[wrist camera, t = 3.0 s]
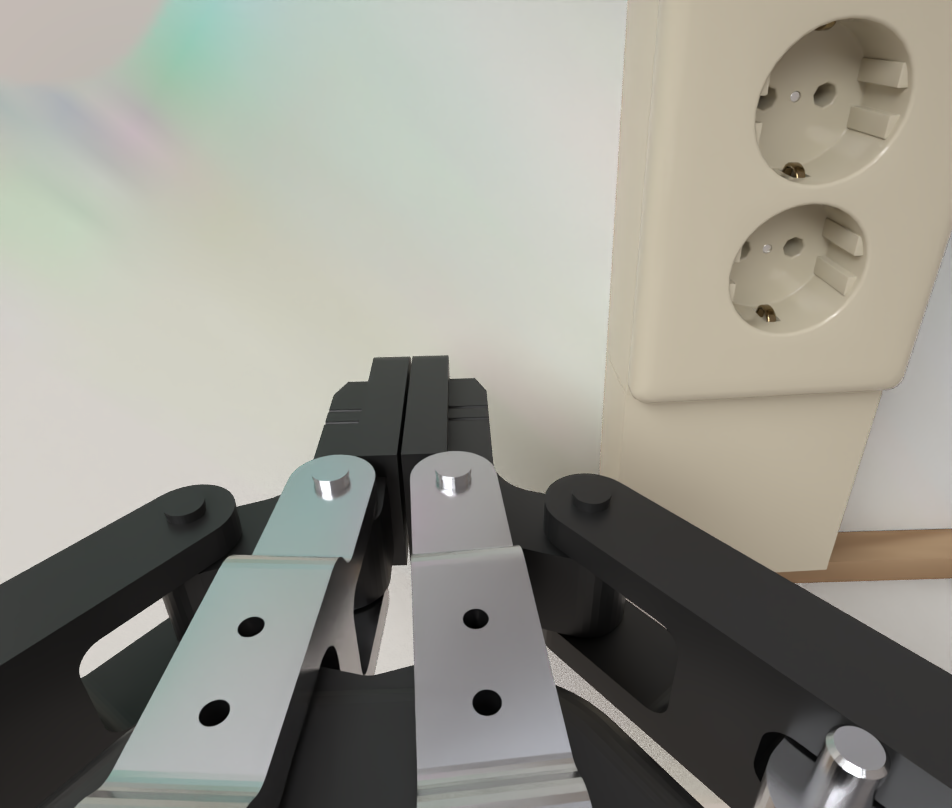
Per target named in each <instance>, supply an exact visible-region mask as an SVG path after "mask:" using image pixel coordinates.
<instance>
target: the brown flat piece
mask: <svg viewBox="0 0 952 808" xmlns="http://www.w3.org/2000/svg"><path fill="white" fill-rule="evenodd" d="M776 573H777V574H779V575H781V576H782V577H784V578H786V579H788V580H789V581H791V582H793V583H813V582H846V581H878V580H911V579H944V578H952V529H933V530H898V531H864V532H838V534H837V537H836V541H835V544H834V547H833V550H832V553H831V556H830V560H829V563H828V566H827V569H826V570H809V571H791V572H776Z"/></svg>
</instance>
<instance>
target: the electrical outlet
mask: <svg viewBox="0 0 952 808" xmlns="http://www.w3.org/2000/svg"><path fill="white" fill-rule="evenodd" d="M951 233H952V0H628V2H627V19H626V35H625V52H624V68H623V85H622V101H621V118H620V135H619V151H618V168H617V184H616V201H615V217H614V234H613V250H612V267H611V284H610V300H609V317H608V333H607V350H606V351H607V352H606V366H605V383H604V399H603V416H602V432H601V449H600V466H599V475H602V476H606V477H609V478H612V479H614V480H616V481H618V482H620V483H622V484H624V485H626V486H627V487H629V488H631V489H632V490H634V491H636V492H638V493H639V494H641V495H643V496H644V497H646V498H648V499H650V500H651V501H653V502H655V503H657V504H658V505H660V506H662V507H663V508H665V509H667V510H669V511H670V512H672V513H674V514H676V515H677V516H679V517H681V518H682V519H684V520H686V521H688V522H689V523H691V524H693V525H694V526H696V527H698V528H700V529H701V530H703V531H705V532H707V533H708V534H710V535H712V536H713V537H715V538H717V539H719V540H720V541H722V542H724V543H726V544H727V545H729V546H731V547H732V548H734V549H736V550H738V551H739V552H741V553H743V554H745V555H746V556H748V557H750V558H751V559H753V560H755V561H757V562H758V563H760V564H762V565H763V566H765V567H767V568H769V569H770V570H772V571H774V572H791V571H809V570H826V569H827V566H828V563H829V560H830V556H831V553H832V550H833V547H834V544H835V541H836V537H837V534H838V531H839V528H840V525H841V521H842V518H843V515H844V512H845V509H846V506H847V502H848V499H849V496H850V493H851V490H852V486H853V483H854V480H855V477H856V474H857V471H858V467H859V464H860V461H861V458H862V455H863V452H864V448H865V445H866V442H867V439H868V436H869V432H870V429H871V426H872V423H873V420H874V417H875V413H876V410H877V407H878V404H879V401H880V398H881V394H882V391H883V390H889V389H893V388H895V387H897V386H898V385H899V384H900V383H901V382H902V380H903V378H904V376H905V373H906V370H907V367H908V363H909V360H910V357H911V354H912V351H913V348H914V345H915V342H916V339H917V336H918V333H919V330H920V327H921V324H922V321H923V318H924V315H925V312H926V309H927V306H928V303H929V300H930V297H931V294H932V291H933V288H934V285H935V282H936V279H937V276H938V273H939V270H940V267H941V263H942V260H943V257H944V254H945V251H946V248H947V245H948V242H949V239H950V236H951Z"/></svg>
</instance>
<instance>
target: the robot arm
mask: <svg viewBox="0 0 952 808" xmlns="http://www.w3.org/2000/svg"><path fill="white" fill-rule="evenodd" d="M408 546H409V550H410V561H411V580H412V614H413V647H414V665H413V666H409V667H405V668H401V669H397V670H394V671H390V672H386V673H382V674H378V675H374V674H375V670H376V665H377V660H378V655H379V650H380V645H381V640H382V636H383V631H384V626H385V621H386V616H387V611H388V607H389V590H388V586H389V583H390V579H391V570H392V565H407V558H408ZM161 598H163V601H164V604H165V607H166V609H167V612H168V615H169V618H168V619H166V620H165V621H164V622H162V623H161V624H159V625H158V626H156V627H155V628H154V629H152V630H151V631H149V632H148V633H146V634H145V635H144V636H142V637H141V638H139V639H138V640H136V641H135V642H133V643H132V644H131V645H129V646H128V647H126V648H125V649H123V650H122V651H121V652H119V653H118V654H116V655H115V656H113V657H112V658H111V659H109V660H108V661H106V662H105V663H103V664H102V665H101V666H99V667H98V668H96V669H95V670H93V671H92V672H90V673H89V674H88V675H86V676H84V677H82V678H80V675H79V667H80V663H81V661H82V659H83V657H84V655H85V654H86V652H87V651H88V650H89V648H90V647H91V646H92V645H93V644H94V643H96V642H97V641H98V640H100V639H101V638H103V637H104V636H106V635H107V634H109V633H110V632H112V631H113V630H115V629H116V628H118V627H119V626H120V625H122V624H123V623H125V622H126V621H128V620H129V619H131V618H132V617H134V616H135V615H137V614H138V613H140V612H141V611H143V610H144V609H146V608H147V607H149V606H150V605H152V604H153V603H155V602H156V601H158V600H159V599H161ZM625 598H627V599H629V600H630V601H631V602H633V603H634V604H636V605H637V606H638V607H640V608H641V609H642V610H644V611H645V612H647V613H648V614H649V615H651V616H652V617H653V618H655V619H656V620H658V621H659V622H660V623H661V624H663V625H664V626H665V627H666V628H667V629H666V628H664V627H663V626H661V625H660V624H659V623H657V622H656V621H654V620H653V619H652V618H650V617H649V616H648V615H646V614H645V613H643V612H642V611H641V610H639V609H638V608H637V607H635V606H634V605H632V604H631V603H630V602H628V601H627V600H626V599H625ZM545 644H546V645H545ZM546 646H547V647H548V648H549V649H550V650H551V651H552V652H554V653H555V654H556V655H557V656H558V657H559V658H560V659H562V660H563V661H564V662H565V663H566V664H567V665H568V666H570V667H571V668H572V669H573V670H574V671H575V672H576V673H578V674H579V675H580V676H581V677H582V678H583V679H584V680H586V681H587V682H588V683H589V684H590V685H591V686H592V687H594V688H595V689H596V690H597V691H598V692H599V693H600V694H602V695H603V696H604V697H605V698H606V699H607V700H608V701H610V702H611V703H612V704H613V705H614V706H615V707H616V708H618V709H619V710H620V711H621V712H622V713H623V714H624V715H626V716H627V717H628V718H629V719H630V720H631V721H632V722H634V723H635V724H636V725H637V726H638V727H639V728H640V729H642V730H643V731H644V732H645V733H646V734H647V735H648V736H650V737H651V738H652V739H653V740H654V741H655V742H656V743H658V744H659V745H660V746H661V747H662V748H663V749H664V750H666V751H667V752H668V753H669V754H670V755H671V756H672V757H674V758H675V759H676V760H677V761H678V762H679V763H680V764H682V765H683V766H684V767H685V768H686V769H687V770H688V771H690V772H691V773H692V774H693V775H694V776H695V777H696V778H698V779H699V780H700V781H701V782H702V783H703V784H704V785H706V786H707V787H708V788H709V789H710V790H711V791H712V792H714V793H715V794H716V795H717V796H718V797H719V798H720V799H722V800H723V801H724V802H725V803H726V804H727V805H728V806H730V807H731V808H952V675H951V674H950V673H948V672H946V671H945V670H943V669H941V668H939V667H938V666H936V665H934V664H932V663H931V662H929V661H927V660H926V659H924V658H922V657H920V656H919V655H917V654H915V653H914V652H912V651H910V650H908V649H907V648H905V647H903V646H901V645H900V644H898V643H896V642H895V641H893V640H891V639H889V638H888V637H886V636H884V635H882V634H881V633H879V632H877V631H876V630H874V629H872V628H870V627H869V626H867V625H865V624H864V623H862V622H860V621H858V620H857V619H855V618H853V617H851V616H850V615H848V614H846V613H845V612H843V611H841V610H839V609H838V608H836V607H834V606H832V605H831V604H829V603H827V602H826V601H824V600H822V599H820V598H819V597H817V596H815V595H813V594H812V593H810V592H808V591H807V590H805V589H803V588H801V587H800V586H798V585H796V584H795V583H793V582H791V581H789V580H788V579H786V578H784V577H782V576H781V575H779V574H777V573H776V572H774V571H772V570H770V569H769V568H767V567H765V566H763V565H762V564H760V563H758V562H757V561H755V560H753V559H751V558H750V557H748V556H746V555H745V554H743V553H741V552H739V551H738V550H736V549H734V548H732V547H731V546H729V545H727V544H726V543H724V542H722V541H720V540H719V539H717V538H715V537H713V536H712V535H710V534H708V533H707V532H705V531H703V530H701V529H700V528H698V527H696V526H694V525H693V524H691V523H689V522H688V521H686V520H684V519H682V518H681V517H679V516H677V515H676V514H674V513H672V512H670V511H669V510H667V509H665V508H663V507H662V506H660V505H658V504H657V503H655V502H653V501H651V500H650V499H648V498H646V497H644V496H643V495H641V494H639V493H638V492H636V491H634V490H632V489H631V488H629V487H627V486H626V485H624V484H622V483H620V482H618V481H616V480H614V479H612V478H609V477H606V476H602V475H596V474H574V475H569V476H566V477H563V478H561V479H559V480H557V481H555V482H554V483H552V484H551V485H550V486H549V488H548V489H547V491H546V494H543V493H537V492H532V491H528V490H524V489H521V488H518V487H515V486H513V485H511V484H509V483H508V482H506V481H505V480H504V479H502V478H501V477H500V476H499V475H498V473H497V472H496V470H495V467H494V465H493V457H492V446H491V435H490V424H489V414H488V403H487V392H486V390H485V389H484V388H483V386H482V385H481V384H480V383H479V382H478V381H477V380H476V379H475V378H468V379H450V378H449V357H448V355H447V356H413V358H412V364H411V358H410V357H380V358H374V359H373V363H372V367H371V372H370V376H369V380H368V382H348V383H347V384H346V385H345V386H344V387H342V388H341V389H340V390H339V391H338V392H337V393H336V394H335V395H334V396H333V400H332V403H331V406H330V409H329V413H328V415H327V418H326V425H324V428H323V431H322V434H321V437H320V441H319V444H318V447H317V450H316V453H315V456H314V459H313V460H311V461H309V462H307V463H305V464H303V465H302V466H300V467H299V468H297V469H296V470H295V471H294V472H293V473H292V474H291V476H290V477H289V479H288V481H287V483H286V485H285V487H284V490H283V492H282V494H281V495H279V496H276V497H274V498H271V499H267V500H263V501H259V502H255V503H251V504H247V505H242V506H238V507H236V503H235V499H234V497H233V495H232V494H231V493H230V492H229V491H228V490H226V489H224V488H222V487H219V486H215V485H192V486H187V487H182V488H179V489H176V490H173V491H170V492H168V493H166V494H164V495H162V496H160V497H158V498H156V499H154V500H153V501H151V502H149V503H147V504H145V505H144V506H142V507H140V508H138V509H136V510H135V511H133V512H131V513H129V514H127V515H126V516H124V517H122V518H120V519H118V520H116V521H115V522H113V523H111V524H109V525H107V526H106V527H104V528H102V529H100V530H98V531H97V532H95V533H93V534H91V535H89V536H88V537H86V538H84V539H82V540H80V541H78V542H77V543H75V544H73V545H71V546H69V547H68V548H66V549H64V550H62V551H60V552H59V553H57V554H55V555H53V556H51V557H49V558H48V559H46V560H44V561H42V562H40V563H39V564H37V565H35V566H33V567H31V568H30V569H28V570H26V571H24V572H22V573H21V574H19V575H17V576H15V577H13V578H11V579H10V580H8V581H6V582H4V583H2V584H1V585H0V808H704V807H703V806H702V805H701V804H700V803H699V802H697V801H696V800H695V799H694V798H693V797H692V796H691V795H690V794H689V793H688V792H687V791H686V790H685V789H684V788H683V787H682V786H681V785H680V784H679V783H678V782H676V781H675V780H674V779H673V778H672V777H671V776H670V775H669V774H668V773H667V772H666V771H665V770H664V769H663V768H662V767H661V766H660V765H659V764H658V763H657V762H655V761H654V760H653V759H652V758H651V757H650V756H649V755H648V754H647V753H646V752H645V751H644V750H643V749H642V748H641V747H640V746H639V745H638V744H637V743H636V742H635V741H633V740H632V739H631V738H630V737H629V736H628V735H627V734H626V733H625V732H624V731H623V730H622V729H621V728H620V727H619V726H618V725H617V724H616V723H615V722H613V721H612V720H611V719H610V718H609V717H608V716H607V715H606V714H604V713H603V712H602V711H600V710H599V709H598V708H596V707H595V706H594V705H592V704H591V703H590V702H588V701H586V700H585V699H583V698H581V697H579V696H578V695H576V694H574V693H572V692H570V691H568V690H566V689H563V688H561V687H559V686H557V685H555V682H554V678H553V674H552V670H551V666H550V661H549V657H548V653H547V649H546Z"/></svg>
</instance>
